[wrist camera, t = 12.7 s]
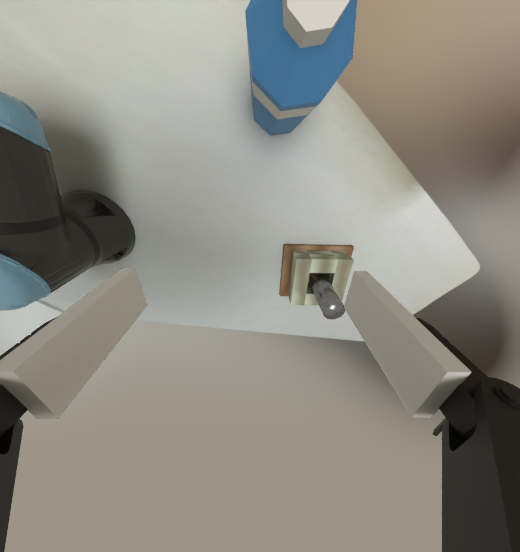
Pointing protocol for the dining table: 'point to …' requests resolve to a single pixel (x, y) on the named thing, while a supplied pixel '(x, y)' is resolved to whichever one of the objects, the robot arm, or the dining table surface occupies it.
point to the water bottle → (296, 56)
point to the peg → (326, 296)
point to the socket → (313, 270)
